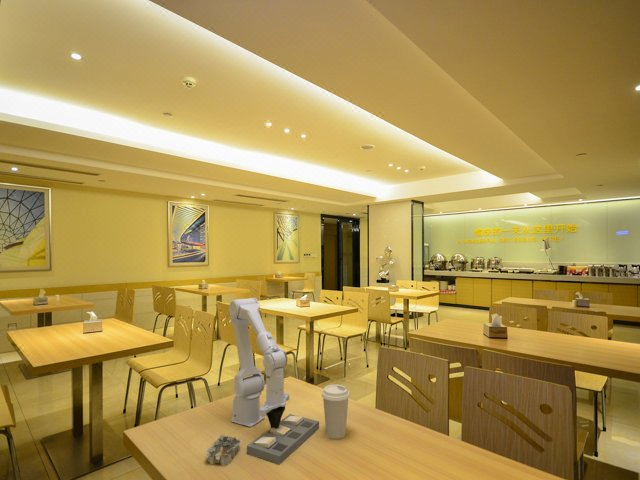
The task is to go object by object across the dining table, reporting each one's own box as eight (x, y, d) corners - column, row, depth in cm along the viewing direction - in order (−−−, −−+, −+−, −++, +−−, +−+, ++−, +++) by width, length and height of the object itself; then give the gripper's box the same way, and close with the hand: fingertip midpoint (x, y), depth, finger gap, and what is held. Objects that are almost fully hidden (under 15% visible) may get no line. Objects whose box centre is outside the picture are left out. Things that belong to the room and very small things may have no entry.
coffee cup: (348, 443, 112) (348, 395, 113) (319, 440, 114) (318, 393, 115) (351, 428, 122) (351, 384, 122) (324, 426, 124) (324, 382, 124)
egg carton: (227, 468, 100) (227, 453, 100) (203, 464, 102) (203, 450, 102) (243, 447, 111) (243, 434, 111) (220, 445, 112) (221, 432, 112)
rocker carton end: (255, 446, 108) (254, 442, 108) (263, 440, 111) (262, 436, 112) (268, 447, 106) (267, 443, 106) (276, 441, 109) (275, 437, 109)
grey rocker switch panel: (246, 453, 107) (246, 445, 107) (290, 420, 128) (290, 413, 128) (279, 464, 101) (279, 455, 101) (319, 428, 122) (319, 421, 122)
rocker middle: (270, 432, 115) (270, 428, 115) (277, 427, 119) (277, 423, 119) (283, 438, 113) (283, 433, 113) (290, 432, 116) (290, 428, 116)
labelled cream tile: (284, 424, 122) (283, 420, 122) (290, 419, 126) (290, 415, 126) (296, 425, 120) (296, 421, 120) (302, 420, 123) (302, 416, 123)
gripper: (271, 398, 109) (271, 442, 108) (296, 382, 122) (296, 422, 121) (253, 393, 112) (253, 437, 112) (279, 379, 125) (279, 418, 124)
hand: (274, 429), depth 117 cm, fingers closed, pressing on rocker middle
